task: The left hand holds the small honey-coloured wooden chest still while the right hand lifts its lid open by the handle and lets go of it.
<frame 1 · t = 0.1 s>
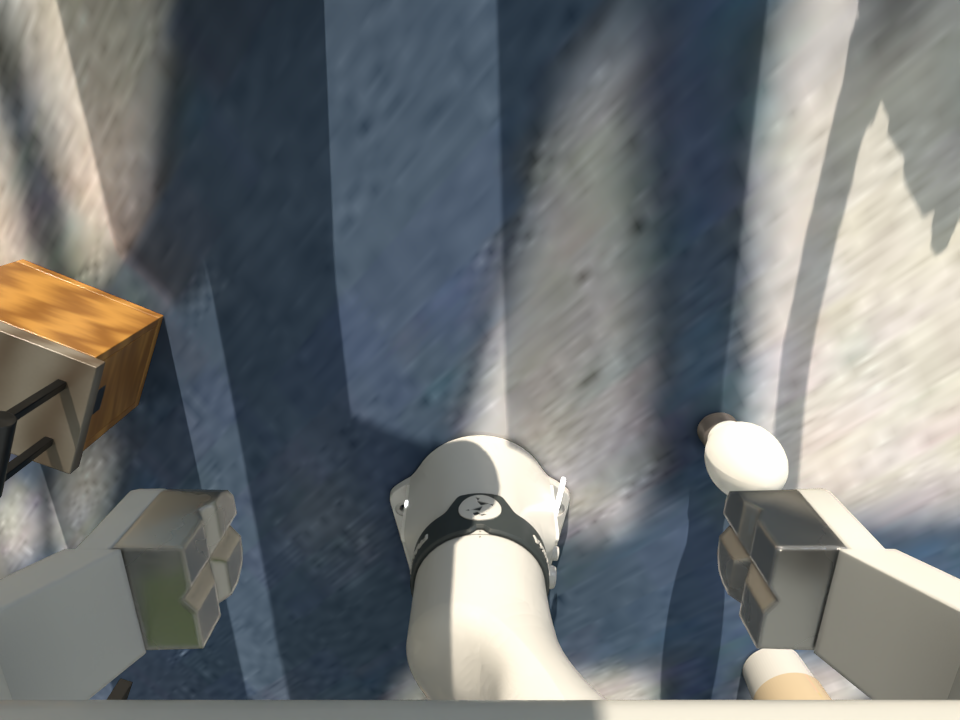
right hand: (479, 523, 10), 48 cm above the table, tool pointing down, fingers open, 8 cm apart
coffee cup: (771, 666, 75), on the table
light bulb: (718, 426, 63), on the table
chest: (83, 335, 60), on the table
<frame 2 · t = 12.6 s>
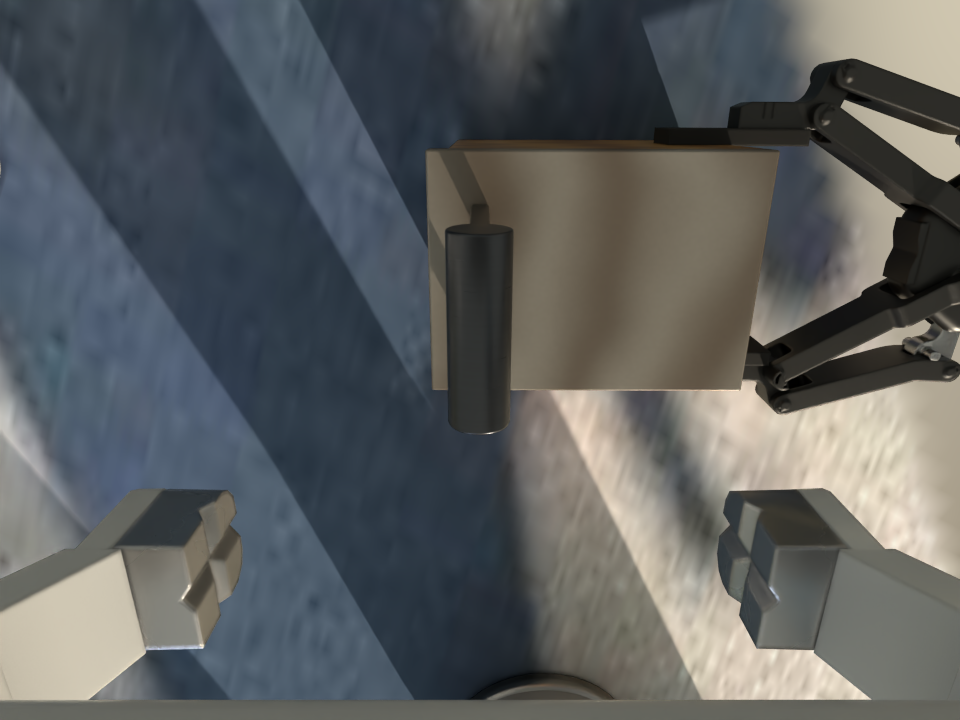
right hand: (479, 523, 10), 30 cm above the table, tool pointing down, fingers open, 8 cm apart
left hand: (649, 249, 32), fingers closed on chest, 10 cm apart
lid: (609, 300, 23), point 16 cm above the table, hinge at 0.0°
chest: (566, 229, 38), on the table, touching left hand
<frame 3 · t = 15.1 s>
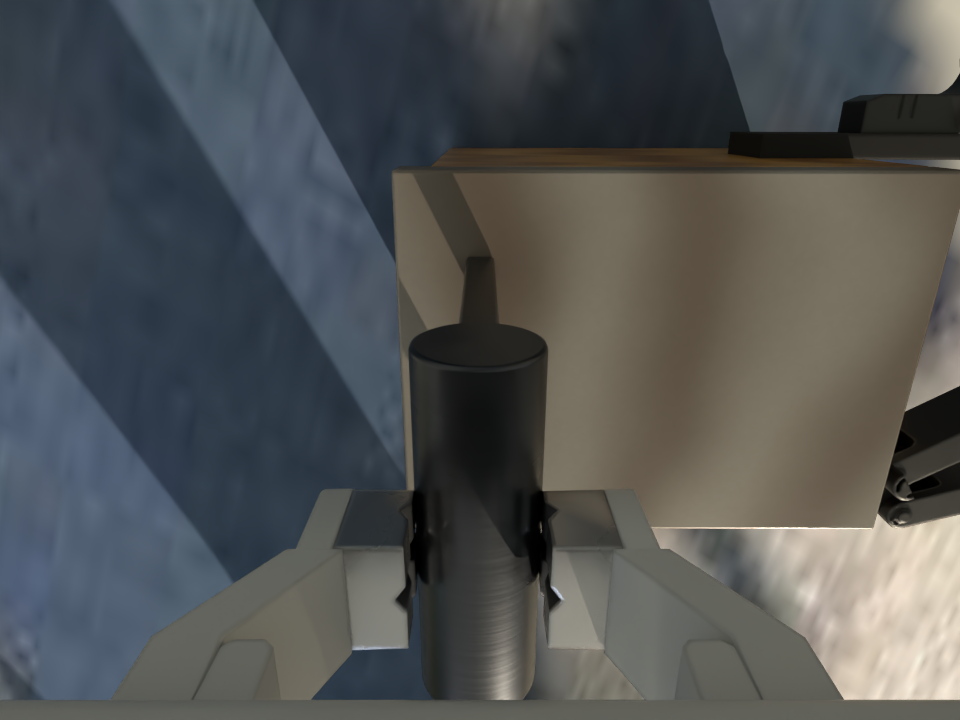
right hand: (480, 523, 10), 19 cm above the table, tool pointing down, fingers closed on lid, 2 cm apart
lid: (698, 426, 14), point 16 cm above the table, hinge at -0.1°, touching right hand
chest: (595, 266, 28), on the table, touching left hand
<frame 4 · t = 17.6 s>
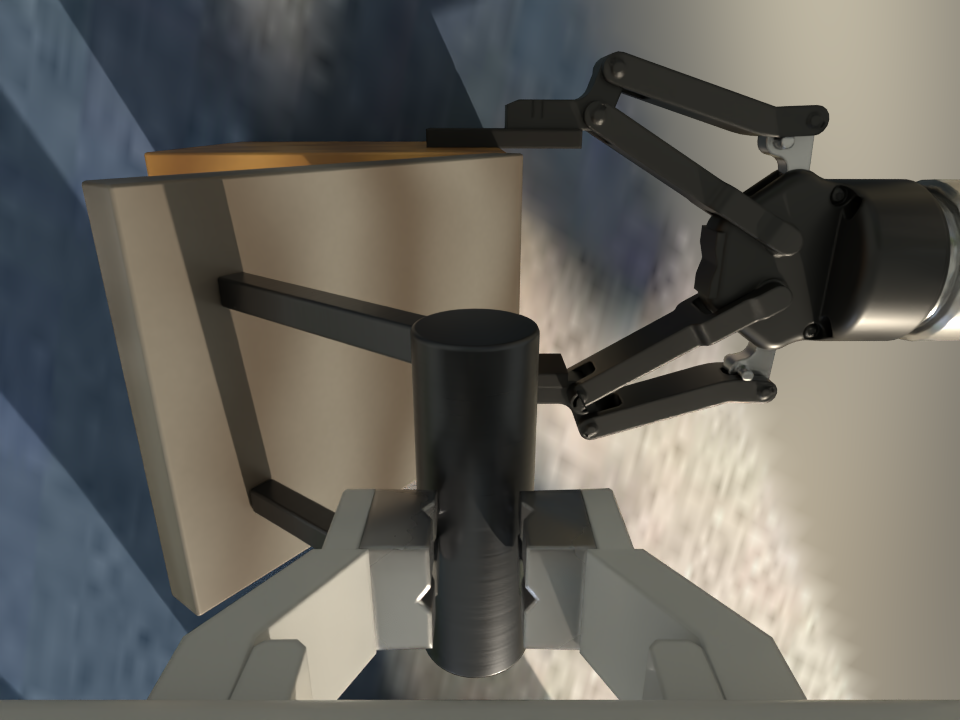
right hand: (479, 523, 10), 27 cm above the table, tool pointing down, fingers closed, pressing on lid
left hand: (431, 262, 29), fingers closed on chest, 10 cm apart
lid: (478, 370, 17), point 20 cm above the table, hinge at 50.3°, touching right hand
chest: (372, 239, 35), on the table, touching left hand
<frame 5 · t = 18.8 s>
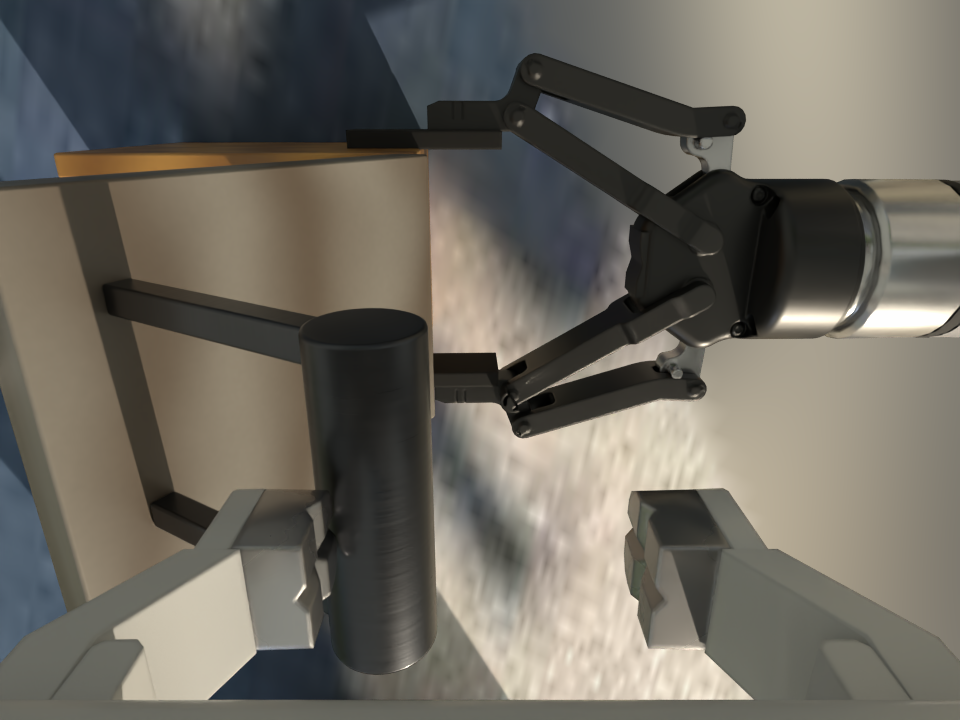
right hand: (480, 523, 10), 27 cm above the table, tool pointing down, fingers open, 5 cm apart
left hand: (359, 262, 29), fingers closed on chest, 10 cm apart
lid: (386, 370, 17), point 20 cm above the table, hinge at 57.2°, touching right hand
chest: (313, 239, 35), on the table, touching left hand
when the left hand's fingers open (6 cm above the table, at t = 22.3 s): chest stays where it is, on the table.
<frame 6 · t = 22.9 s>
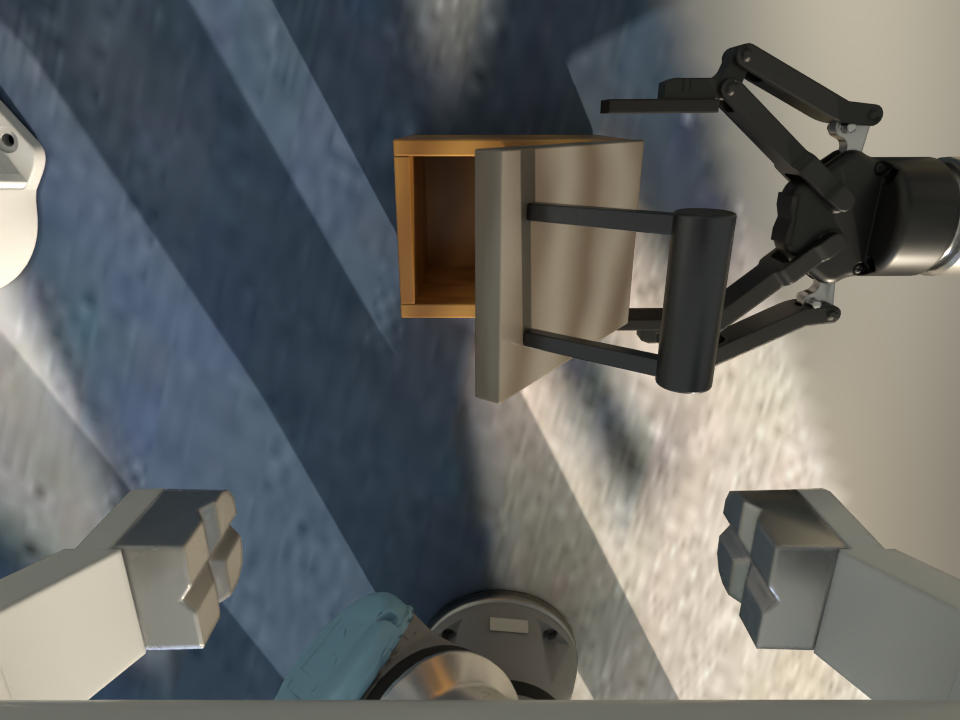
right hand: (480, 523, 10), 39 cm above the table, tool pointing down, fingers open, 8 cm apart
left hand: (597, 219, 41), fingers open, 13 cm apart
lid: (647, 265, 28), point 20 cm above the table, hinge at 55.0°
chest: (503, 207, 47), on the table
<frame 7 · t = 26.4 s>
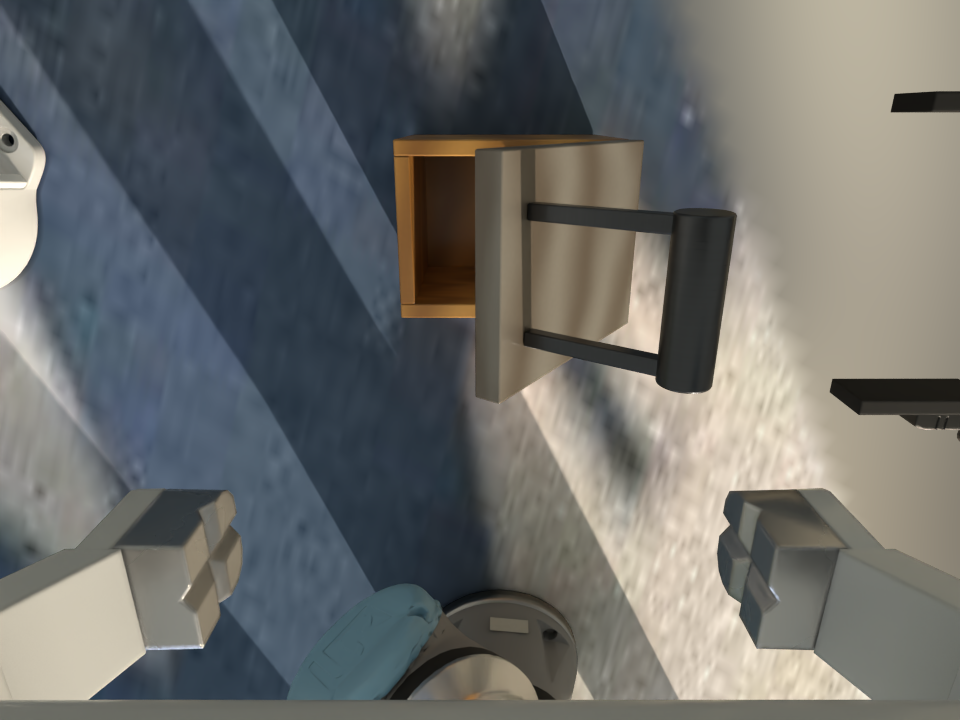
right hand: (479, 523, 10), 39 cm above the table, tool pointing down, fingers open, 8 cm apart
lid: (647, 265, 28), point 20 cm above the table, hinge at 55.0°
chest: (503, 207, 47), on the table
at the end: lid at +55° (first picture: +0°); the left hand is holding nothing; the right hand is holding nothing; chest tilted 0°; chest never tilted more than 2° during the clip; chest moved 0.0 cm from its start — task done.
